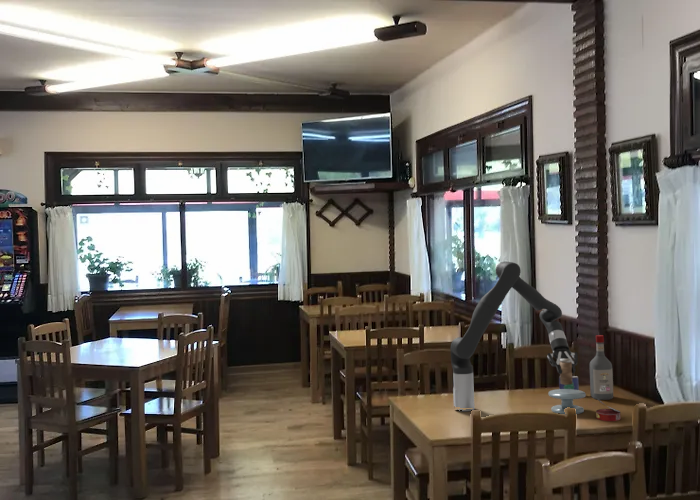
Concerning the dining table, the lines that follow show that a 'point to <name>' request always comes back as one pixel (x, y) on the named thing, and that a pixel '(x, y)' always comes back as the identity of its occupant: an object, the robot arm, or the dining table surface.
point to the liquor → (601, 373)
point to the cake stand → (567, 399)
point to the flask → (571, 386)
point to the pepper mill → (566, 371)
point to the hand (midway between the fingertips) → (567, 372)
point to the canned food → (608, 414)
